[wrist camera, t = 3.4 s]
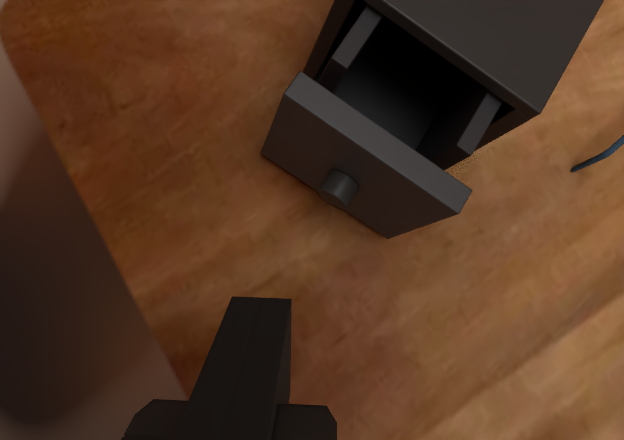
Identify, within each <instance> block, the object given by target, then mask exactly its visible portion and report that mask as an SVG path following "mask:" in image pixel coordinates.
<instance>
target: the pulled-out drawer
mask: <svg viewBox="0 0 624 440" xmlns="http://www.w3.org/2000/svg"><path fill="white" fill-rule="evenodd" d="M503 101H504V100H502V99H501V98H500V97H498V96H497V95H495V94H494V93H493V92H491V91H490V90H488V89H487V88H486V87H484V86H483V85H481V84H480V83H479V82H477V81H476V80H474V79H473V78H472V77H470V76H469V75H467V74H466V73H465V72H463V71H462V70H460V69H459V68H458V67H456V66H455V65H453V64H452V63H451V62H449V61H448V60H446V59H445V58H444V57H442V56H441V55H439V54H438V53H437V52H435V51H434V50H432V49H431V48H430V47H428V46H427V45H425V44H424V43H422V42H421V41H420V40H418V39H417V38H415V37H414V36H413V35H411V34H410V33H408V32H407V31H406V30H404V29H403V28H401V27H400V26H399V25H397V24H396V23H394V22H393V21H392V20H390V19H389V18H387V17H386V16H385V15H383V14H382V13H380V12H379V11H378V10H376V9H375V8H373V7H372V6H371V5H369V4H367V6H366V7H365V9H364V10H363V12H362V13H361V15H360V16H359V18H358V19H357V20H356V22H355V23H354V25H353V26H352V28H351V29H350V31H349V32H348V34H347V35H346V36H345V38H344V39H343V41H342V42H341V44H340V45H339V47H338V48H337V50H336V51H335V52H334V54H333V55H332V57H331V59H330V61H329V62H328V64H327V66H326V68H325V70H324V72H323V74H322V76H321V78H320V79H319V81H318V83H317V82H315V81H314V80H313V79H311V78H310V77H308V76H307V75H305V74H304V73H303V72H301V71H300V72H298V74H297V75H296V77H295V78H294V80H293V81H292V82H291V84H290V85H289V87H288V88H287V90H286V91H285V93H284V95H283V97H282V100H281V102H280V105H279V107H278V110H277V112H276V115H275V117H274V120H273V122H272V125H271V127H270V130H269V132H268V135H267V138H266V140H265V143H264V145H263V148H262V150H261V154H263V155H264V156H266V157H267V158H269V159H270V160H272V161H273V162H274V163H276V164H277V165H279V166H280V167H282V168H283V169H285V170H286V171H288V172H289V173H291V174H292V175H294V176H295V177H297V178H298V179H300V180H301V181H303V182H304V183H306V184H307V185H309V186H310V187H312V188H313V189H315V190H316V191H317V192H318V194H319V195H320V196H321V197H322V198H323V199H324V200H325V201H326V202H328V203H329V204H331V205H333V206H335V207H337V208H340V209H344V210H346V211H347V212H349V213H350V214H352V215H353V216H355V217H356V218H357V219H359V220H360V221H362V222H363V223H365V224H366V225H368V226H369V227H371V228H372V229H374V230H375V231H377V232H378V233H380V234H381V235H383V236H384V237H386V238H387V239H389V238H392V237H395V236H398V235H400V234H403V233H406V232H409V231H412V230H415V229H417V228H420V227H423V226H426V225H429V224H432V223H434V222H437V221H440V220H443V219H446V218H449V217H451V216H454V215H457V214H459V213H460V211H461V210H462V208H463V206H464V204H465V203H466V201H467V199H468V197H469V196H470V194H471V192H472V190H471V189H470V188H468V187H467V186H465V185H464V184H463V183H461V182H460V181H458V180H457V179H455V178H454V177H453V176H451V175H450V174H448V173H447V172H445V171H444V170H446V169H448V168H449V167H451V166H453V165H455V164H457V163H458V162H460V161H462V160H464V159H466V158H468V157H469V156H471V155H472V154H473V152H474V150H475V149H476V147H477V145H478V144H479V142H480V140H481V138H482V137H483V135H484V133H485V131H486V130H487V128H488V126H489V125H490V123H491V121H492V119H493V118H494V116H495V114H496V113H497V111H498V109H499V107H500V106H501V104H502V102H503Z"/></svg>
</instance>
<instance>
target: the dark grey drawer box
mask: <svg viewBox="0 0 624 440" xmlns="http://www.w3.org/2000/svg"><path fill="white" fill-rule="evenodd" d="M603 1H604V0H334V2H333V5H332V7H331V9H330V12H329V14H328V16H327V18H326V21H325V23H324V25H323V27H322V30H321V32H320V34H319V36H318V39H317V41H316V43H315V45H314V48H313V50H312V52H311V55H310V57H309V59H308V61H307V64H306V66H305V68H304V70H303V73H304V74H305V75H307V76H308V77H310V78H311V79H313V80H314V81H315V82H317V83H318V81H319V79H320V78H321V76H322V74H323V72H324V70H325V68H326V66H327V64H328V62H329V61H330V59H331V57H332V55H333V54H334V52H335V51H336V50H337V48H338V47H339V45H340V44H341V42H342V41H343V39H344V38H345V36H346V35H347V34H348V32H349V31H350V29H351V28H352V26H353V25H354V23H355V22H356V20H357V19H358V18H359V16H360V15H361V13H362V12H363V10H364V9H365V7H366V6H367V4H369V5H371V6H372V7H373V8H375V9H376V10H378V11H379V12H380V13H382V14H383V15H385V16H386V17H387V18H389V19H390V20H392V21H393V22H394V23H396V24H397V25H399V26H400V27H401V28H403V29H404V30H406V31H407V32H408V33H410V34H411V35H413V36H414V37H415V38H417V39H418V40H420V41H421V42H422V43H424V44H425V45H427V46H428V47H430V48H431V49H432V50H434V51H435V52H437V53H438V54H439V55H441V56H442V57H444V58H445V59H446V60H448V61H449V62H451V63H452V64H453V65H455V66H456V67H458V68H459V69H460V70H462V71H463V72H465V73H466V74H467V75H469V76H470V77H472V78H473V79H474V80H476V81H477V82H479V83H480V84H481V85H483V86H484V87H486V88H487V89H488V90H490V91H491V92H493V93H494V94H495V95H497V96H498V97H500V98H501V99H502V100H504V101H503V102H502V104H501V106H500V107H499V109H498V111H497V113H496V114H495V116H494V118H493V119H492V121H491V123H490V125H489V126H488V128H487V130H486V131H485V133H484V135H483V137H482V138H481V140H480V142H479V144H478V145H477V147H476V149H475V150H477V149H479V148H481V147H482V146H484V145H486V144H488V143H489V142H491V141H493V140H495V139H497V138H498V137H500V136H502V135H504V134H505V133H507V132H509V131H511V130H513V129H514V128H516V127H518V126H520V125H521V124H523V123H525V122H527V121H529V120H530V119H532V118H533V117H535V116H537V115H539V114H540V113H541V112H542V110H543V108H544V107H545V105H546V103H547V101H548V100H549V98H550V96H551V94H552V92H553V91H554V89H555V87H556V85H557V83H558V82H559V80H560V78H561V76H562V74H563V73H564V71H565V69H566V67H567V66H568V64H569V62H570V60H571V58H572V57H573V55H574V53H575V51H576V49H577V48H578V46H579V44H580V42H581V40H582V39H583V37H584V35H585V33H586V32H587V30H588V28H589V26H590V24H591V23H592V21H593V19H594V17H595V15H596V14H597V12H598V10H599V8H600V6H601V5H602V3H603ZM475 150H474V151H475Z"/></svg>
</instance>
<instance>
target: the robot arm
mask: <svg viewBox="0 0 624 440" xmlns="http://www.w3.org/2000/svg"><path fill="white" fill-rule="evenodd" d="M290 361H291V299H279V298H255V297H232V298H231V300H230V303H229V305H228V308H227V310H226V312H225V315H224V317H223V320H222V322H221V324H220V327H219V329H218V332H217V334H216V336H215V339H214V341H213V344H212V346H211V348H210V351H209V353H208V356H207V358H206V360H205V363H204V365H203V368H202V370H201V372H200V375H199V377H198V380H197V382H196V384H195V387H194V389H193V392H192V394H191V396H190V399H189V401H180V400H179V401H177V400H159V399H153V400H152V401H151V402H150V403H148V404H147V405H146V406H145V407H144V408H142V409H141V410H140V411H139V412H138V413H136V414H135V416H134V417H133V419H132V421H131V423H130V424H129V426H128V428H127V430H126V432H125V435H124V437H122V439H121V440H337V422H336V421H335V419H334V417H333V416H332V414H331V412H330V411H329V409H328V407H327V406H320V405H300V404H289V397H290Z"/></svg>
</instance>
